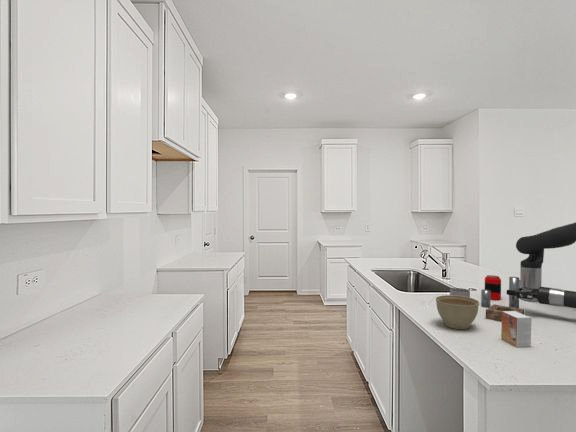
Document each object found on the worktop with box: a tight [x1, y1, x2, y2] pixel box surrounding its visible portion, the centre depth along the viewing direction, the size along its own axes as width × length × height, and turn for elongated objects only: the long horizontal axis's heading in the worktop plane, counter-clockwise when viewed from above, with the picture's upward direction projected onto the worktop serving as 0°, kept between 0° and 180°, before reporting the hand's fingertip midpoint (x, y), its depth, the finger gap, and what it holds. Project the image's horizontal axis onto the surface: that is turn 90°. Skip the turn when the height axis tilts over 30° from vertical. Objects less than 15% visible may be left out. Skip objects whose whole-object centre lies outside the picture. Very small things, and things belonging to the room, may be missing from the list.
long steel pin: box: [508, 276, 520, 309], centre depth 167 cm, size 4×4×16 cm
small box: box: [500, 311, 532, 348], centre depth 129 cm, size 8×6×10 cm
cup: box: [449, 287, 471, 298], centre depth 168 cm, size 8×8×10 cm
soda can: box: [484, 274, 502, 301], centre depth 190 cm, size 8×8×12 cm
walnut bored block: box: [485, 303, 525, 323], centre depth 156 cm, size 12×12×4 cm
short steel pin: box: [480, 288, 492, 309], centre depth 175 cm, size 4×4×8 cm
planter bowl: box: [435, 294, 480, 330], centre depth 147 cm, size 16×16×11 cm
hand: (509, 290), depth 168 cm, fingers open, 7 cm apart
